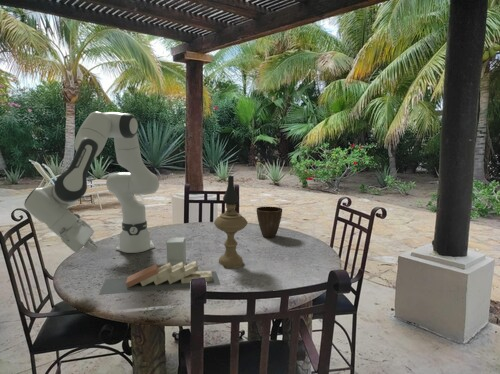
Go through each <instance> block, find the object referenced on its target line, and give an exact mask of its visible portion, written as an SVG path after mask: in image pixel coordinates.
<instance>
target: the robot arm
mask: <svg viewBox="0 0 500 374" xmlns="http://www.w3.org/2000/svg"><path fill="white" fill-rule="evenodd" d="M138 131H139V123H138V119H137V118H136V116H134V114H131V113H127V112H125V113H123V112H117V111H109V112H107V111H106V112H101V111H93V112H90V114H88V116H87V117H86V118H85V119H84V120H83V122H82V124H81V125H80V127H79V128H78V130H77V133H76V136H75V139H74V142H73V149H74V150H75V154H74V156H73V158H72V161H71V162H70V165H69V167H68V168H67V170H65V171H64V172H63V173H60V175H58V176H57V178H56V180H55V182H54V184H51V185H47V186H44V187H36V188H34V189H32V190H31V192H30V193H29V194H28V195H27V197H26V199H25V200H24V208H25V210H27V211H28V213H29V214H31V216H33V217H34V218H35V219H37V220H38V222H41V223H42V224H45V225H46V226H47V228H48V229H49V230H50V231H51V232H53V233H54V234H55V235H56V236H58V237H59V238H60V240H61V242H63V243H64V244H65V246H67V247H68V248H69V249H70V250H71V251H73V252H75V253H79V252H80V250H82V249H83V247H84V248H85V249H87V250H90V251H91V252H92V253H95V252H96V251H97V250H98V249H99V246H98V245H97V244H96V243H95V241H94V239H93V238H91V237H92V236H93V234H94V233H95V231H94V229H93V228H92V227H91V225H90V224H88V223H87V222H86V221H85V220H84V219H82V216H81V215H80V214H78V213H72V212H71V211H70V210H69V209H70V208H71V207H72V206H74V205H75V204H76V203H77V202H79V200H80V199H81V198H82V197H84V195H85V194H86V193H87V192H86V191H87V189H88V182H87V178H88V177H87V176H88V172H89V170H90V169H91V166H92V163H93V161H94V159H95V158H97V157H98V156H99V155H100V154H101V153H102V151H103V149H104V148H105V145H106V143H107V141H108V139H109V138H111V139H113V143H114V151H115V156H116V162H117V163H118V165H119V166H120V167H122V168H124V169H125V170H127V171H125V172H124V171H123V172H122V171H121V172H120V171H119V172H114V173H110V174H109V175H108V176H107V178H106V187H107V190H108V191H109V192H110V193H111V194H112V195H114V197H115V198H116V199H117V201H118V202H119V205H120V207H121V215H122V222H121V229H122V231H120V233H119V235H118V238H119V239H118V240H119V242H118V245H117V246H116V247H115V251H120V252H122V253H125V254H126V253H127V254H130V253H131V254H134V253H135V254H136V253H141V252H142V253H143V252H145V251H149V250H151V249H152V250H153V249H155V244H154V242H153V241H152V238H151V232H150V230H148V223H147V222H148V221H147V218H146V217H147V215H146V214H147V213H146V205H144V203H143V202H141V201H139V200H137V198H136V197H135V195H137V196H139V195H141V196H143V195H144V196H145V195H152V194H156V193H157V191H158V190H159V187H160V179H159V178H158V176H157V175H156V174H155V173H153V172H152V171H151V170H149V168H148V167H147V166H146V164H145V163H144V161H143V159H142V155H141V149H140V143H139V137H138V134H137V133H138Z"/></svg>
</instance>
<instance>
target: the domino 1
mask: <svg viewBox="0 0 500 374" xmlns="http://www.w3.org/2000/svg"><path fill="white" fill-rule="evenodd" d="M158 270H159V266H158V264H157V263H154V264H152V265H150V266H148V267H146V268H144V269H141V270H140V271H137V272H136V273H133V274H131V275H129V276H127V277H126V278H127V281H126V284H127V286H128V288H129V287H131V286H133V285H135V284H137V283H139V282H141V281H143V280H146V279H148V278H150V277H152V276H154V275H156V274H158Z"/></svg>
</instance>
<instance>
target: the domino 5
mask: <svg viewBox="0 0 500 374" xmlns="http://www.w3.org/2000/svg"><path fill="white" fill-rule="evenodd" d="M211 272H212V271H211V270H202V271H199V270H198V271H196V272H194V273H192V274H190V275H188V276H186V277H184V278H182V279H181V283H190V281H191V279H192V278H200V277H204V278H206V282H207V281H212V273H211Z"/></svg>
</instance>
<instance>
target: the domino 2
mask: <svg viewBox="0 0 500 374" xmlns="http://www.w3.org/2000/svg"><path fill="white" fill-rule="evenodd" d="M158 267H159V266H158ZM169 273H172V266H171V264H170V263H167V262H166V264H164V265H162V266H160V267H159V270H158V274H156V275H154V276H152V277H150V278H148V279H146V280H143V281H141V282H140V283H141V285H142V286H145V285H147V284H149V283H151V282H153V281H155V280H157V279H159V278H161V277H163V276H165V275H167V274H169Z"/></svg>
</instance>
